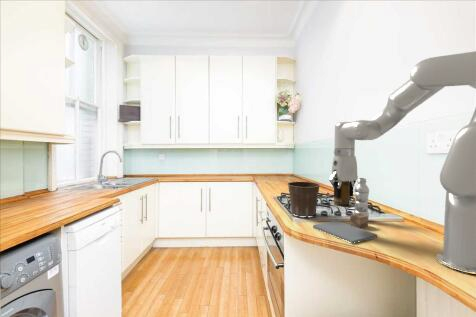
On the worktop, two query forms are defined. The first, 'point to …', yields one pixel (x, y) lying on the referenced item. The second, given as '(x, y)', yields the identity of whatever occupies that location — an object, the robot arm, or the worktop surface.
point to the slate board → (345, 231)
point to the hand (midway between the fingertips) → (343, 196)
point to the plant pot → (303, 198)
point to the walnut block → (359, 220)
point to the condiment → (344, 196)
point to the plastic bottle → (361, 197)
